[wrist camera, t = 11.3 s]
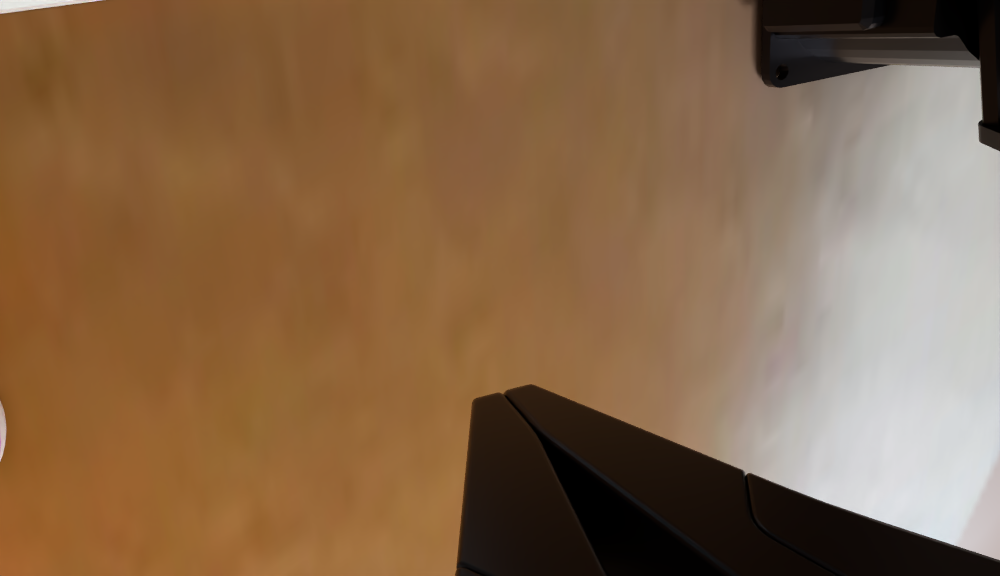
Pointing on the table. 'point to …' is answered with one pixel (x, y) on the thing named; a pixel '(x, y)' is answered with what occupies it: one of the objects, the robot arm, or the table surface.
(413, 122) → the table surface
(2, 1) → the post stand
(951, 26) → the robot arm
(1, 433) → the supplement bottle
